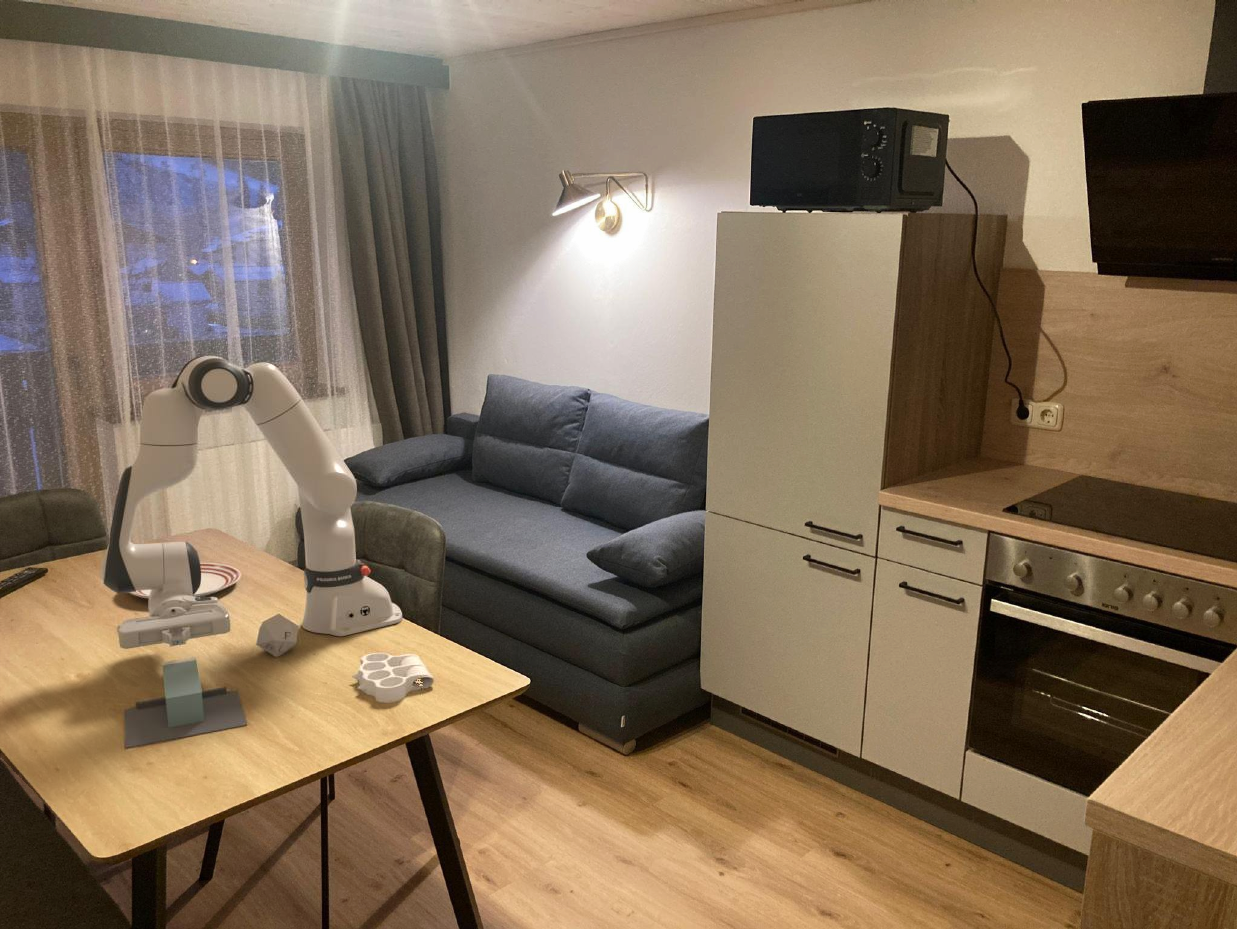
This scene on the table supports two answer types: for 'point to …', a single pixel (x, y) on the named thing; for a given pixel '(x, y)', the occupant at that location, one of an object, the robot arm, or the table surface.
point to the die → (277, 635)
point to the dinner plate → (208, 580)
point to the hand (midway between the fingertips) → (177, 641)
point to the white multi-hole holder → (391, 676)
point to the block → (182, 692)
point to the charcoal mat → (152, 725)
